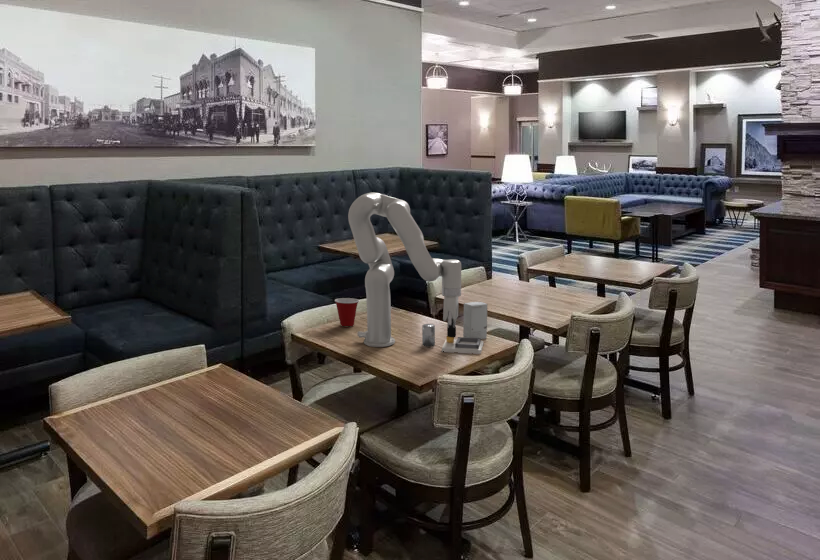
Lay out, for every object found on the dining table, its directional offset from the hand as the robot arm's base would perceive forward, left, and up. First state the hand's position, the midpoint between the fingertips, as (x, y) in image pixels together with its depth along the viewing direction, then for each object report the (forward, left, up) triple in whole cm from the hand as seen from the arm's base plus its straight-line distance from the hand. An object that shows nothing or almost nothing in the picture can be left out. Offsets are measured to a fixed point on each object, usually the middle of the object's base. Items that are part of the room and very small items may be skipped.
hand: (451, 336), depth 249 cm
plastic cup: (-49, +21, -4) cm, 54 cm away
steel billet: (-9, 0, -4) cm, 10 cm away
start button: (-1, 0, -2) cm, 2 cm away
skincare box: (+8, +12, -4) cm, 15 cm away
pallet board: (+5, -2, -4) cm, 6 cm away
